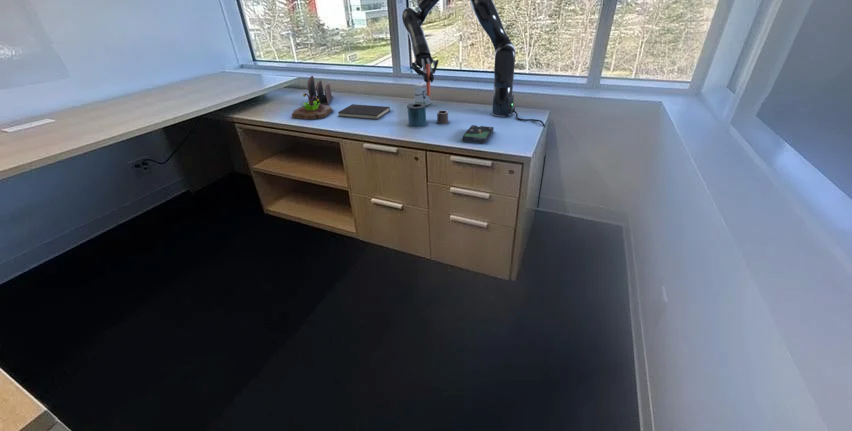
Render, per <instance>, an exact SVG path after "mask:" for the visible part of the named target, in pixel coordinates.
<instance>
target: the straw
mask: <svg viewBox="0 0 852 431" xmlns="http://www.w3.org/2000/svg"><path fill="white" fill-rule="evenodd" d="M425 70H426V73H427V77H428V83H426V88H427V96H430V97H431V95H432V94H431V81H430V64H426V69H425Z"/></svg>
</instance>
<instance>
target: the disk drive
mask: <svg viewBox="0 0 852 431" xmlns="http://www.w3.org/2000/svg"><path fill="white" fill-rule="evenodd" d="M494 129H495V128H494V127H493V126H484V125H481V126H478V125H475V124H474V125H473V124H472V125H470V127H469V128H468V129H467V130H466V131H465V133H463V135H462V138H461V139H462V142H466V143H474V144H475V143H476V144H486V143H487V142H488V141H489V139H490V138H491V136H492V135H493V133H494Z"/></svg>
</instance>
